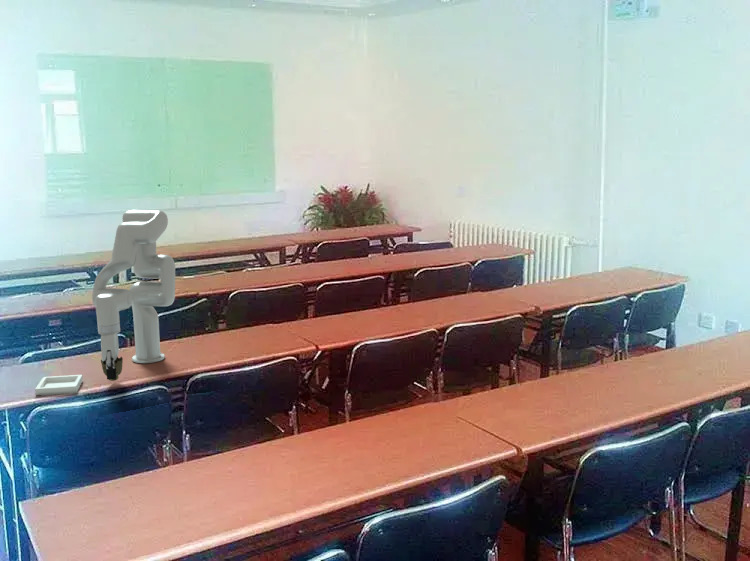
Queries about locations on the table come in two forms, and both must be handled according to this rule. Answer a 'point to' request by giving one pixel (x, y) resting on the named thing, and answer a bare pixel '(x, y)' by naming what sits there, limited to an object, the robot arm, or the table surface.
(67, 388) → the tray
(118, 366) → the cup
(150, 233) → the robot arm
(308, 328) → the table surface
